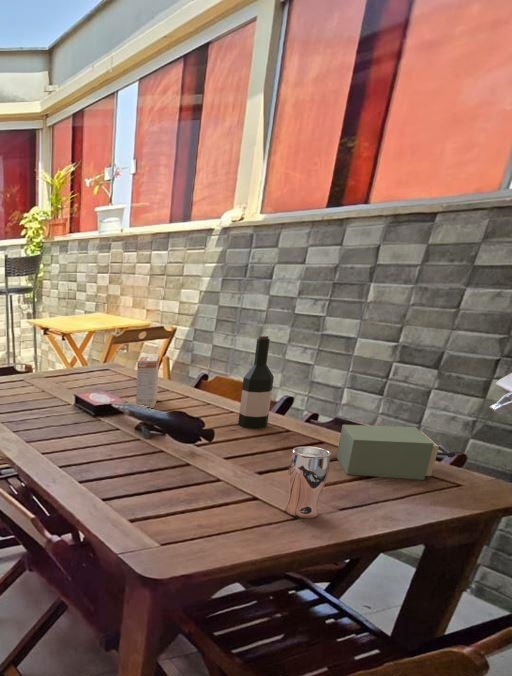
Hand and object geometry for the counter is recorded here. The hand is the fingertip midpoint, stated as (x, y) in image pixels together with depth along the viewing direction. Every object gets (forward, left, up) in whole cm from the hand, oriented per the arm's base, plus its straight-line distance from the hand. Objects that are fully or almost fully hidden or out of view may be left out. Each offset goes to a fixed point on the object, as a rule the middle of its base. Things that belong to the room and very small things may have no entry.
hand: (494, 411), depth 115 cm
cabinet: (+19, +2, -16) cm, 24 cm away
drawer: (+15, +2, -15) cm, 21 cm away
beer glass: (+39, +34, -16) cm, 54 cm away
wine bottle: (+44, -31, -16) cm, 56 cm away
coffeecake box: (+79, -55, -16) cm, 97 cm away
